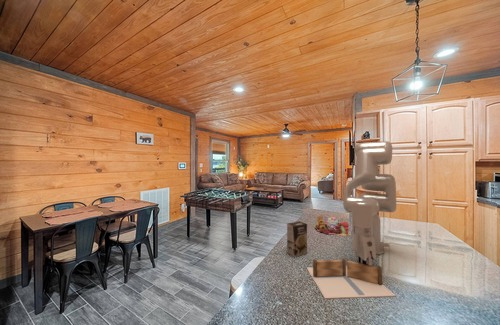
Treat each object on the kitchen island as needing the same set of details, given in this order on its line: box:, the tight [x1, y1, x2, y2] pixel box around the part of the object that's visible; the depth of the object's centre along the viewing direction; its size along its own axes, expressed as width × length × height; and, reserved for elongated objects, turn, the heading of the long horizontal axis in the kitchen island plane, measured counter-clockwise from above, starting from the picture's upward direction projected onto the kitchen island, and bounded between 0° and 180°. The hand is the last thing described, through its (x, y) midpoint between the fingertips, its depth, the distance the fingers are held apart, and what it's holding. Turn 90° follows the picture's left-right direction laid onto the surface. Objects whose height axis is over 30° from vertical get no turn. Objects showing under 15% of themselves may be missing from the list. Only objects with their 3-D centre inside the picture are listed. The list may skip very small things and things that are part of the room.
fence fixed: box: [312, 258, 347, 277], centre depth 81 cm, size 14×1×7 cm, turn 92°
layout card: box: [306, 265, 397, 300], centre depth 78 cm, size 26×20×1 cm
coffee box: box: [286, 221, 308, 258], centre depth 103 cm, size 9×6×16 cm
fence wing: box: [346, 260, 383, 285], centre depth 77 cm, size 12×1×7 cm, turn 61°
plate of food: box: [314, 215, 352, 237], centre depth 138 cm, size 25×24×9 cm
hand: (363, 272), depth 81 cm, fingers closed
